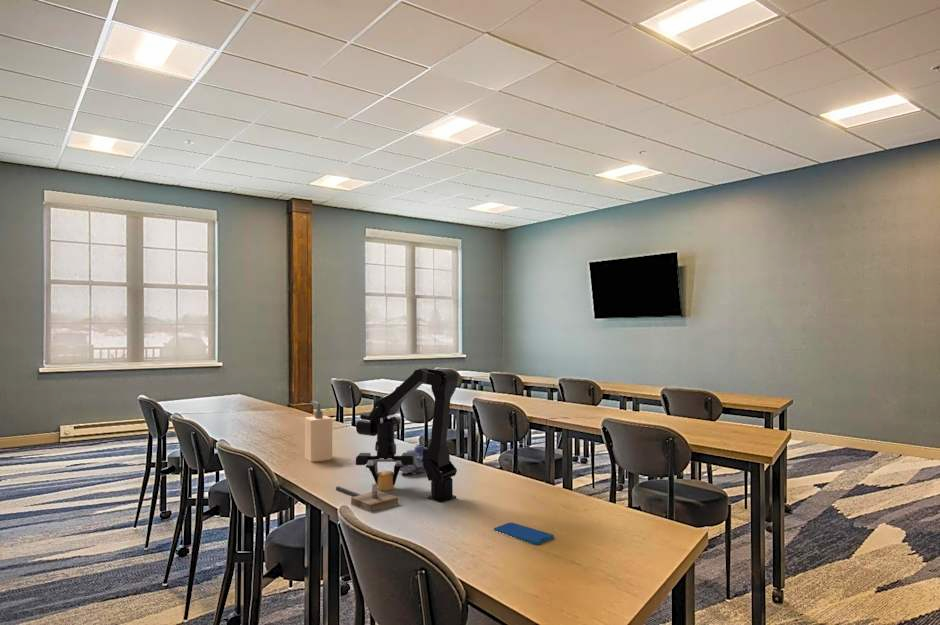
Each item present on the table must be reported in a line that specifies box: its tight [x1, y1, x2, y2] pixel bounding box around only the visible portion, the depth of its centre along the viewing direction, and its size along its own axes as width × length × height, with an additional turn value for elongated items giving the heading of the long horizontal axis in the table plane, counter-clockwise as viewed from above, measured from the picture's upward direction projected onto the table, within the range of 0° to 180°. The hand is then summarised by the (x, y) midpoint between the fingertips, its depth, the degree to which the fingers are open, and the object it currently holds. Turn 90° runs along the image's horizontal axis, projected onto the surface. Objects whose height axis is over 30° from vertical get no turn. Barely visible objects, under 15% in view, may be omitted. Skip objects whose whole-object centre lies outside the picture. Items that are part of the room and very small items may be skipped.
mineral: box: [399, 445, 426, 474], centre depth 210 cm, size 14×10×10 cm
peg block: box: [350, 482, 399, 512], centre depth 173 cm, size 10×10×6 cm
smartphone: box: [493, 522, 554, 546], centre depth 148 cm, size 7×1×15 cm
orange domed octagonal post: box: [377, 470, 395, 491], centre depth 189 cm, size 5×5×5 cm
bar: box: [335, 485, 362, 497], centre depth 182 cm, size 16×1×1 cm, turn 44°
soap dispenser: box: [304, 400, 333, 463], centre depth 233 cm, size 13×9×22 cm
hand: (385, 485), depth 189 cm, fingers closed on orange domed octagonal post, 5 cm apart
